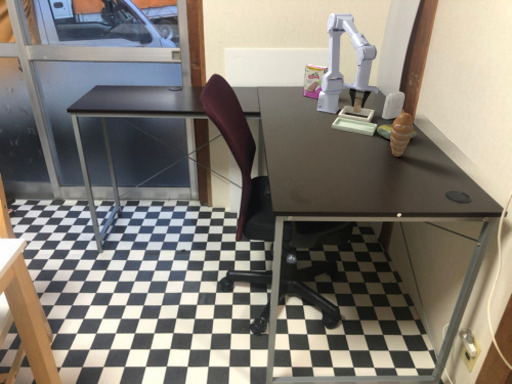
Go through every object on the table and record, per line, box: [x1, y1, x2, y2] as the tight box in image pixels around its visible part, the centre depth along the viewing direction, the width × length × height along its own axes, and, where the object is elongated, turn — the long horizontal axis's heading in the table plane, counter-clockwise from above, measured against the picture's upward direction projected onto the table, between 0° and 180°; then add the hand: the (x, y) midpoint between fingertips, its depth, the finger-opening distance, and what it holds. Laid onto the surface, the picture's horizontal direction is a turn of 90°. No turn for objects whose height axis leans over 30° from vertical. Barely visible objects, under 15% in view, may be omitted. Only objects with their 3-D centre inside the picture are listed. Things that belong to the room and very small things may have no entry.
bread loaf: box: [353, 96, 363, 113], centre depth 177 cm, size 4×4×6 cm
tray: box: [331, 116, 378, 137], centre depth 181 cm, size 18×10×2 cm, turn 66°
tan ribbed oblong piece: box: [389, 109, 414, 158], centre depth 154 cm, size 9×8×18 cm
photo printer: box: [381, 90, 406, 120], centre depth 193 cm, size 10×4×12 cm, turn 123°
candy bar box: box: [302, 63, 328, 100], centre depth 214 cm, size 11×5×16 cm, turn 58°
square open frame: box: [337, 105, 375, 123], centre depth 192 cm, size 14×14×3 cm
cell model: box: [376, 123, 417, 140], centre depth 173 cm, size 11×8×15 cm
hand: (357, 107), depth 178 cm, fingers closed on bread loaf, 4 cm apart
